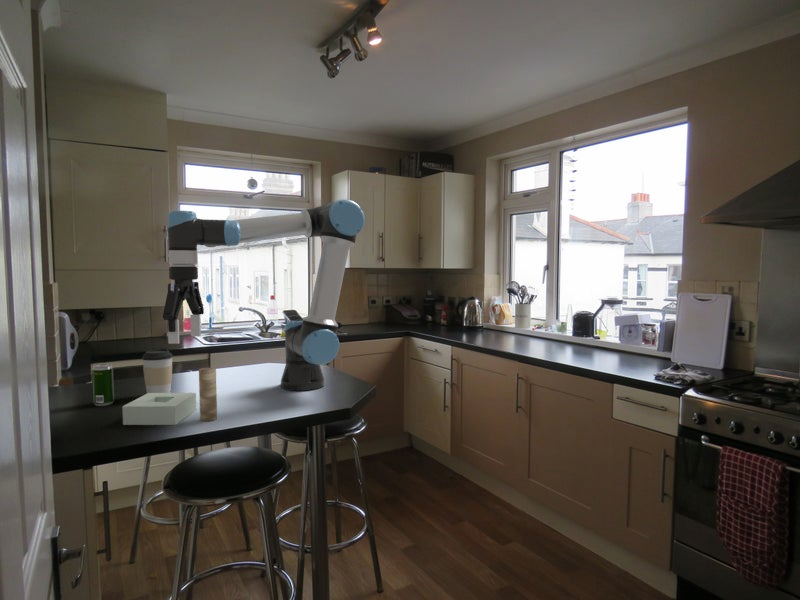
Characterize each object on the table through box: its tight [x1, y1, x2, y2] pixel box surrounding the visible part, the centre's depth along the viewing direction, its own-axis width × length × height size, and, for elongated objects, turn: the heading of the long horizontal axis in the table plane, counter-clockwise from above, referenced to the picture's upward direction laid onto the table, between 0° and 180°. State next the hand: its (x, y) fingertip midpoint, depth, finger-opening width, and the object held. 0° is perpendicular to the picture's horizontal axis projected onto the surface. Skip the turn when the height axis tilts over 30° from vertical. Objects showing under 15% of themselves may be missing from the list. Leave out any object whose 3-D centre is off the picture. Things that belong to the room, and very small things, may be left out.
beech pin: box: [198, 367, 218, 423], centre depth 140 cm, size 4×4×14 cm
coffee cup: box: [141, 347, 173, 394], centre depth 164 cm, size 9×9×15 cm
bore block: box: [121, 392, 197, 426], centre depth 142 cm, size 14×14×5 cm
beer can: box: [91, 363, 115, 407], centre depth 155 cm, size 5×5×12 cm
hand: (185, 339), depth 146 cm, fingers open, 13 cm apart
